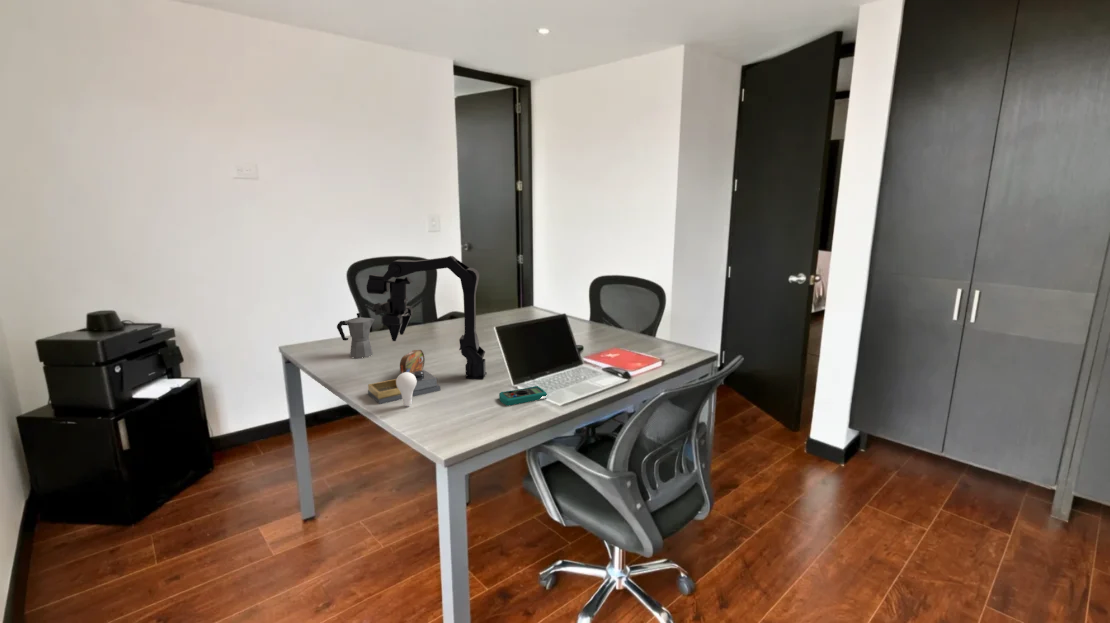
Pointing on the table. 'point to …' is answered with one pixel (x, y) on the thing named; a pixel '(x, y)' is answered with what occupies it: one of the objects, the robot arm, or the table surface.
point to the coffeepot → (358, 335)
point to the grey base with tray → (390, 391)
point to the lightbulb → (406, 386)
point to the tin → (412, 362)
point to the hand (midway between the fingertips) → (397, 337)
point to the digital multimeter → (521, 395)
